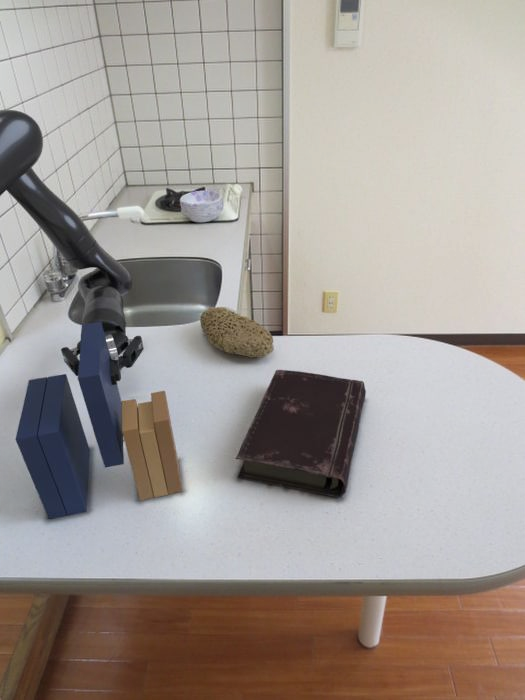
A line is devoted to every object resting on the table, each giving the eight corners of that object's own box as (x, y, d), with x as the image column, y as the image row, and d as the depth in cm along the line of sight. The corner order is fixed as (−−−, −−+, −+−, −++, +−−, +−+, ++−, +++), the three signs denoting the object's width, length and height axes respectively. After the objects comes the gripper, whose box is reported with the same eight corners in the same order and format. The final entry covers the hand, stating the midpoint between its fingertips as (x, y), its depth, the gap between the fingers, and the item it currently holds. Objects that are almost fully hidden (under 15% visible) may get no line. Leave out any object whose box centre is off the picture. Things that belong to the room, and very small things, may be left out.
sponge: (196, 336, 126) (220, 365, 108) (196, 305, 123) (221, 329, 106) (247, 333, 131) (279, 361, 113) (249, 303, 128) (281, 326, 111)
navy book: (104, 468, 79) (77, 378, 69) (105, 408, 90) (82, 324, 80) (123, 464, 79) (99, 374, 69) (122, 405, 90) (101, 321, 81)
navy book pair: (48, 519, 81) (15, 439, 72) (56, 456, 93) (28, 379, 83) (86, 511, 82) (58, 431, 73) (89, 450, 94) (66, 373, 84)
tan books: (139, 500, 84) (121, 428, 75) (138, 469, 89) (120, 398, 81) (182, 491, 85) (168, 419, 76) (178, 461, 91) (165, 390, 82)
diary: (365, 400, 102) (367, 380, 99) (345, 500, 82) (347, 478, 79) (272, 387, 106) (271, 367, 104) (232, 478, 87) (230, 456, 84)
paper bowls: (181, 227, 183) (178, 205, 179) (183, 212, 196) (180, 191, 191) (224, 224, 184) (223, 202, 179) (224, 209, 196) (222, 188, 192)
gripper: (58, 313, 91) (47, 370, 77) (139, 301, 93) (144, 354, 79) (68, 348, 95) (61, 409, 81) (146, 336, 98) (152, 393, 84)
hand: (102, 382), depth 81 cm, fingers closed on navy book, 3 cm apart
